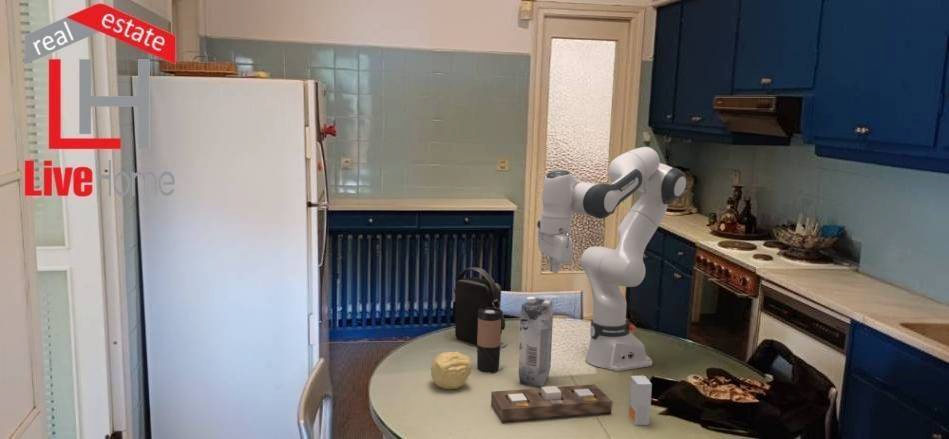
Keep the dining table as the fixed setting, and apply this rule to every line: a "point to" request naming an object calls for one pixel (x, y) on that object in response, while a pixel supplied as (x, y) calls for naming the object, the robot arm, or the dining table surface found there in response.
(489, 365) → the travel mug
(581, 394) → the button
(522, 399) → the button
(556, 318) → the dining table surface
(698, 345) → the dining table surface
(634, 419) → the skincare box
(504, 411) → the button board
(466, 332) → the shoulder bag
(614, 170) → the robot arm
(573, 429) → the dining table surface
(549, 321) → the juice carton
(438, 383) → the sculpture
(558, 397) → the button middle
